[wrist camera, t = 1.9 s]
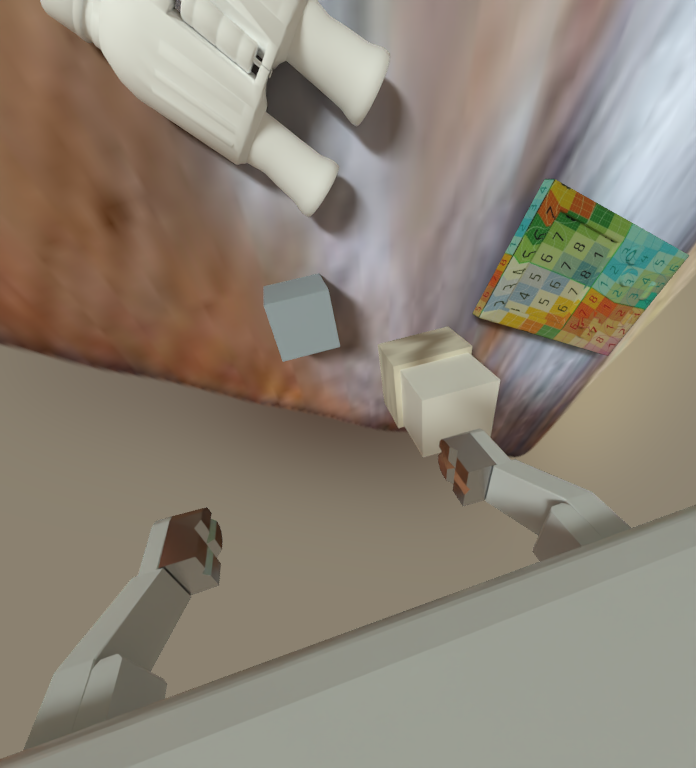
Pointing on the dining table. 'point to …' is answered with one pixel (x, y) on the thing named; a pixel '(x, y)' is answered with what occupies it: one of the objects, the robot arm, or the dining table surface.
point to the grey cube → (301, 316)
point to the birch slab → (414, 361)
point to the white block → (447, 400)
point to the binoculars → (234, 73)
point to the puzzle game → (577, 272)
